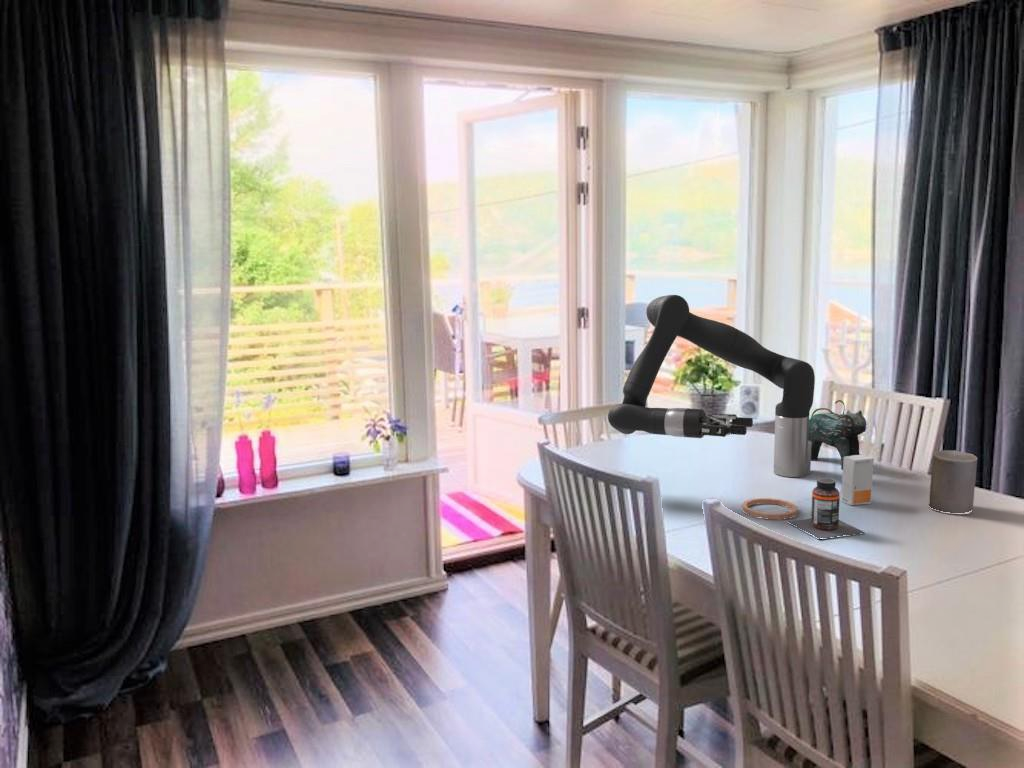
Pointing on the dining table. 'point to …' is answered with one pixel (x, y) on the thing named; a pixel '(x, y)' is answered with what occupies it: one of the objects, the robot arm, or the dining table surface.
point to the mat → (840, 531)
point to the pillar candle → (953, 481)
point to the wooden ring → (768, 515)
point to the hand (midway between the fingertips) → (749, 426)
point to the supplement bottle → (825, 505)
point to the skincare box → (857, 479)
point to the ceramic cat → (836, 432)
